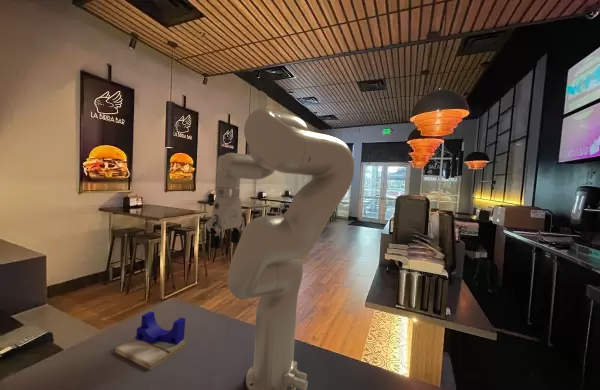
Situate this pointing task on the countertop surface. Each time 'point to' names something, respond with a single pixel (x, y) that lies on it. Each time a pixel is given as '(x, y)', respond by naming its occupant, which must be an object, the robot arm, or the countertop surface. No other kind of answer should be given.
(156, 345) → the board
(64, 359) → the countertop surface
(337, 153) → the robot arm
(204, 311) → the countertop surface
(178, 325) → the cable clip
